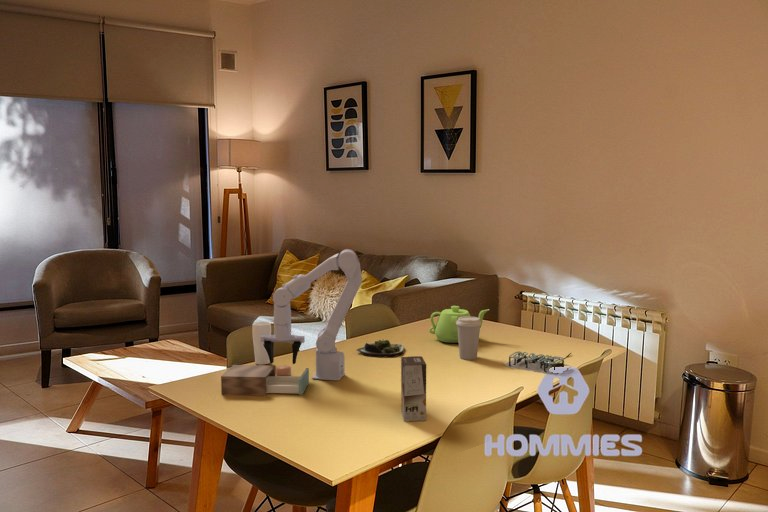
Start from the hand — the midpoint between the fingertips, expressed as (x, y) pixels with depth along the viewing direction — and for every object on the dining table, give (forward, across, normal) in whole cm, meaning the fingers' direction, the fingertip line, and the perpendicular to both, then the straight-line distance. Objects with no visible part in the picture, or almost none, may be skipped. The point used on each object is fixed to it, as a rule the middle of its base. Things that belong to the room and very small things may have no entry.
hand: (283, 362), depth 222 cm
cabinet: (+5, +8, +13) cm, 16 cm away
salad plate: (+5, -31, -36) cm, 48 cm away
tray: (+5, -3, +13) cm, 14 cm away
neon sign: (+5, -92, -26) cm, 95 cm away
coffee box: (+5, -45, +34) cm, 57 cm away
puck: (+5, 0, 0) cm, 5 cm away
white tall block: (+5, +11, -16) cm, 20 cm away
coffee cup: (+5, -64, -29) cm, 71 cm away
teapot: (+5, -62, -57) cm, 84 cm away
